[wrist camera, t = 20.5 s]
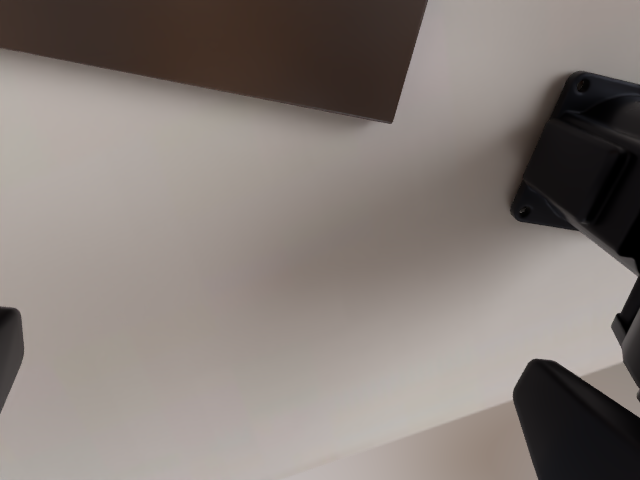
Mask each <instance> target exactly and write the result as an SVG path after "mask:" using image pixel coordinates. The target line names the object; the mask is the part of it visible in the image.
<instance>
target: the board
mask: <svg viewBox="0 0 640 480" xmlns="http://www.w3.org/2000/svg"><path fill="white" fill-rule="evenodd" d="M427 2H428V0H0V48H3V49H8V50H13V51H19V52H24V53H29V54H34V55H39V56H44V57H49V58H55V59H60V60H65V61H70V62H75V63H80V64H85V65H90V66H96V67H101V68H106V69H111V70H116V71H121V72H126V73H132V74H137V75H142V76H147V77H152V78H157V79H162V80H167V81H173V82H178V83H183V84H188V85H193V86H198V87H203V88H209V89H214V90H219V91H224V92H229V93H234V94H239V95H244V96H250V97H255V98H260V99H265V100H270V101H275V102H280V103H286V104H291V105H296V106H301V107H306V108H311V109H316V110H322V111H327V112H332V113H337V114H342V115H347V116H352V117H357V118H363V119H368V120H373V121H378V122H383V123H388V124H391V123H392V122H393V119H394V116H395V113H396V109H397V106H398V102H399V99H400V95H401V92H402V88H403V85H404V81H405V78H406V74H407V71H408V68H409V64H410V61H411V57H412V54H413V50H414V47H415V43H416V40H417V36H418V33H419V30H420V26H421V23H422V19H423V16H424V12H425V9H426V5H427Z"/></svg>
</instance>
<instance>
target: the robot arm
mask: <svg viewBox="0 0 640 480" xmlns="http://www.w3.org/2000/svg"><path fill="white" fill-rule="evenodd" d="M581 80H583V81H584V82H583V86H582V87H581V88H580V89H579V90H577V85H578V83H579V82H580V81H581ZM523 207H526V209H525V211H524V212H522V213H520V210H521V209H522V208H523ZM510 212H511V215H512V216H513V217H514V218H515V219H516V220H518V221H520V222H526V223H532V224H539V225H545V226H551V227H557V228H564V229H570V230H576V231H580V232H582V233H583V234H584V235H586V236H587V237H588V238H589V239H591V240H592V241H593V242H595V243H596V244H597V245H598V246H600V247H601V248H602V249H603V250H605V251H606V252H607V253H609V254H610V255H611V256H612V257H614V258H615V259H616V260H617V261H619V262H620V263H621V264H623V265H624V266H625V267H626V268H628V269H629V270H630V271H632V272H633V273H634V274H635V275H637V276H638V278H637V280H636V282H635V284H634V287H633V289H632V291H631V293H630V295H629V297H628V299H627V301H626V303H625V305H624V307H623V309H622V311H621V313H618V314H617V315H616V317H615V319H614V321H613V323H612V325H611V328H612V330H613V332H614V334H615V336H616V338H617V340H618V342H619V344H620V346H621V348H622V353H623V362H624V364H625V366H626V367H627V369H628V371H629V372H630V374H631V376H632V378H633V379H634V381H635V383H636V384H637V386H638V387H639V388H640V85H639V84H635V83H631V82H627V81H623V80H619V79H614V78H610V77H606V76H602V75H598V74H594V73H589V72H585V71H577V72H575V73H573V74H572V75H571V76H570V77H569V78H568V80H567V81H566V83H565V86H564V88H563V90H562V92H561V95H560V97H559V99H558V101H557V104H556V106H555V108H554V110H553V113H552V115H551V117H550V119H549V121H548V122H547V123H546V125H545V128H544V130H543V132H542V134H541V137H540V139H539V141H538V143H537V146H536V148H535V150H534V152H533V155H532V157H531V159H530V161H529V164H528V166H527V168H526V171H525V173H524V175H523V180H522V183H521V185H520V187H519V189H518V192H517V194H516V196H515V198H514V201H513V203H512V205H511V209H510ZM23 355H24V342H23V331H22V320H21V314H20V312H19V310H17V309H16V308H11V307H1V306H0V413H1V411H2V408H3V406H4V404H5V401H6V399H7V396H8V394H9V392H10V389H11V387H12V385H13V382H14V380H15V377H16V375H17V373H18V370H19V368H20V366H21V363H22V360H23ZM637 399H638V400H639V402H640V389H639V391H638V393H637ZM513 401H514V405H515V408H516V411H517V414H518V417H519V420H520V423H521V427H522V430H523V433H524V437H525V440H526V443H527V446H528V449H529V452H530V456H531V459H532V462H533V465H534V468H535V471H536V474H537V477H538V480H640V418H639V417H638V416H636V415H635V414H633V413H632V412H630V411H629V410H627V409H626V408H624V407H622V406H621V405H620V404H618V403H617V402H615V401H614V400H612V399H611V398H609V397H608V396H606V395H605V394H603V393H602V392H600V391H599V390H597V389H596V388H594V387H593V386H591V385H590V384H588V383H587V382H585V381H584V380H582V379H581V378H579V377H578V376H576V375H575V374H573V373H572V372H570V371H569V370H567V369H566V368H564V367H563V366H561V365H560V364H558V363H557V362H555V361H552V360H544V359H533V360H531V361H530V362H529V363H528V364H527V366H526V368H525V370H524V372H523V373H522V375H521V377H520V379H519V380H518V382H517V384H516V386H515V388H514V391H513Z"/></svg>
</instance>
